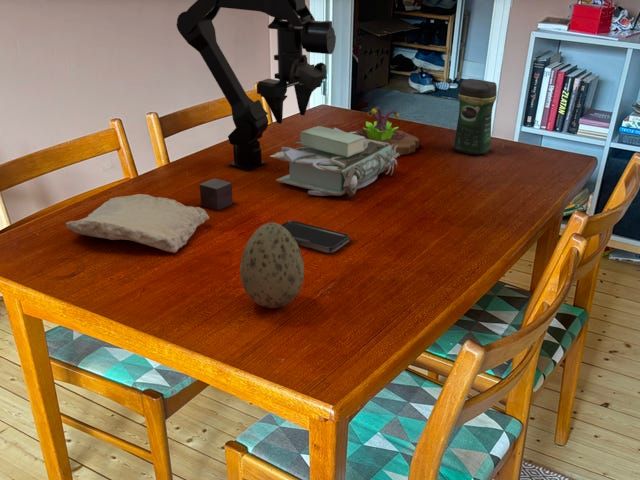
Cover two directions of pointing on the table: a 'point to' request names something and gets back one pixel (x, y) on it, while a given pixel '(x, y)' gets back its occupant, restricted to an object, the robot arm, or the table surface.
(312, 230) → the phone
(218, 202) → the block
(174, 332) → the table surface
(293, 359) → the table surface
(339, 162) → the ornate book
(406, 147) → the plant
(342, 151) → the pocket book
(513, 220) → the table surface
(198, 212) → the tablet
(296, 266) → the decorative egg
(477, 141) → the coffee jar
